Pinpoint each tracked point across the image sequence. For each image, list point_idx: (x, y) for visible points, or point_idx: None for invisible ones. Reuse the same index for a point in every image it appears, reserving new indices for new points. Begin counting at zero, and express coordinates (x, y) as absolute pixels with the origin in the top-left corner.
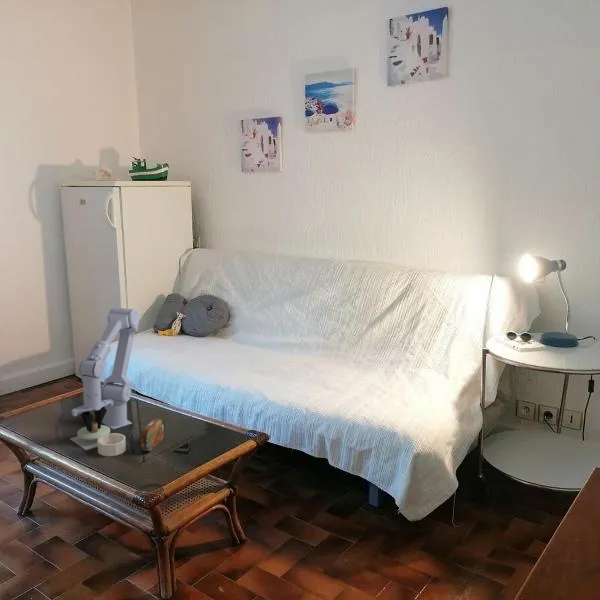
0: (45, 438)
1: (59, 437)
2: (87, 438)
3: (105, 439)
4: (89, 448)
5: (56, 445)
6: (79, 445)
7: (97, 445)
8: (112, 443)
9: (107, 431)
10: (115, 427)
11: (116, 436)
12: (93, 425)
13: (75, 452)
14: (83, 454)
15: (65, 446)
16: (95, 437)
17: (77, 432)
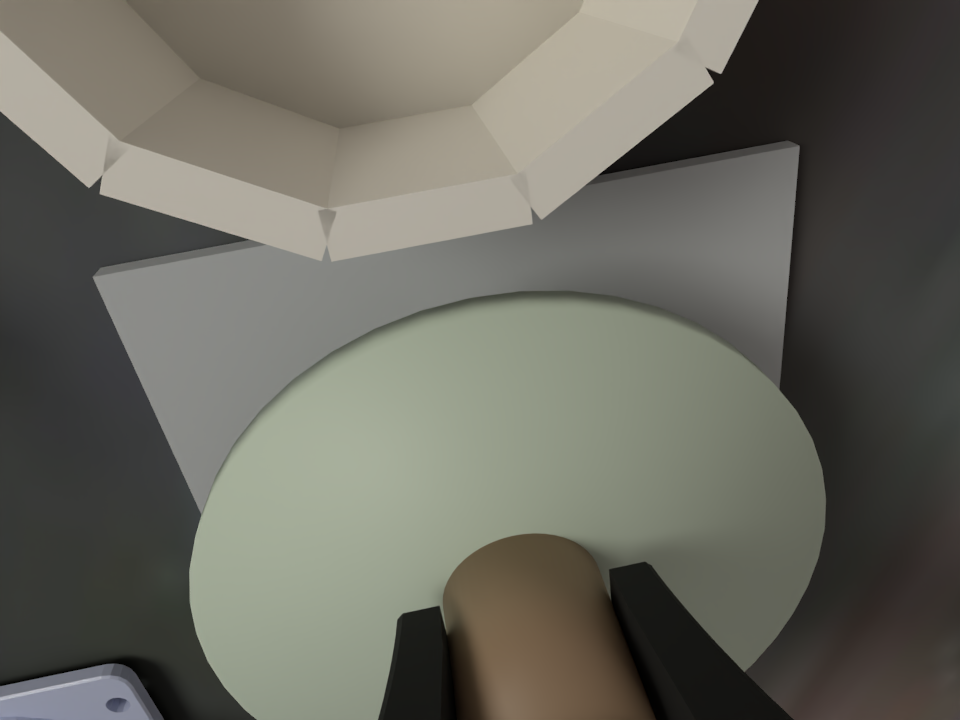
0: (920, 706)
1: (806, 684)
2: (763, 373)
3: (430, 152)
4: (718, 185)
5: (956, 526)
6: (778, 379)
7: (548, 229)
8: (258, 109)
9: (274, 491)
10: (73, 692)
11: (99, 85)
12: (604, 684)
13: (932, 198)
14: (893, 32)
15: (902, 457)
16: (620, 329)
17: (766, 645)
